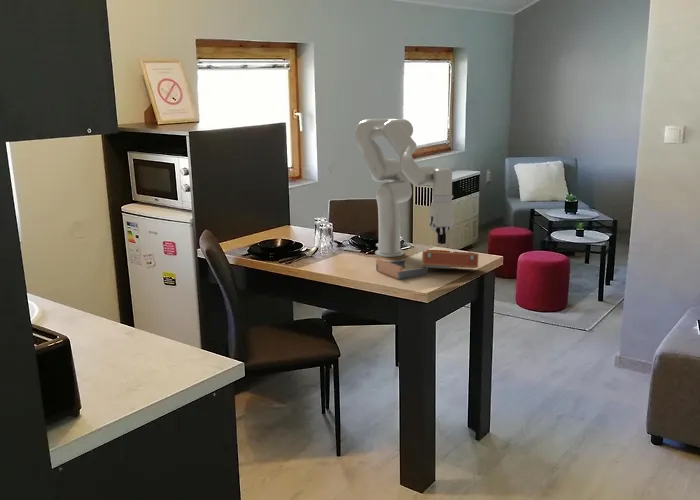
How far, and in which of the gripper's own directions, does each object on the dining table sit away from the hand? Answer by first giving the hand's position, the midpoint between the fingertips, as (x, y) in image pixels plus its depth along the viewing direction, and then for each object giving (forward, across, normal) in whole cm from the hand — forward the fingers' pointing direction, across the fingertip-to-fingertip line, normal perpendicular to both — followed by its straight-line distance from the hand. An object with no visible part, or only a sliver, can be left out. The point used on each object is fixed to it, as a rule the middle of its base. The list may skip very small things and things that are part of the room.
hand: (441, 243), depth 269 cm
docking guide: (+10, +20, 0) cm, 22 cm away
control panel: (+7, -2, +2) cm, 8 cm away
